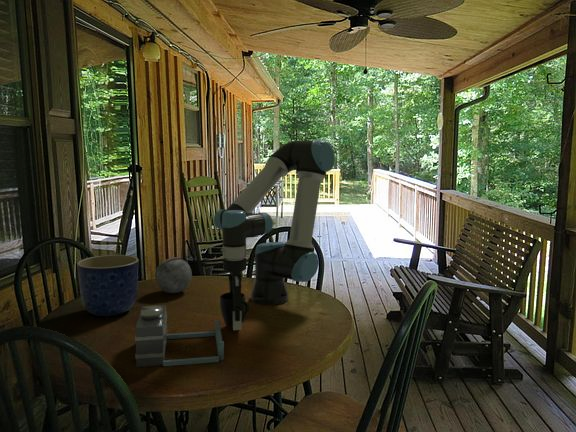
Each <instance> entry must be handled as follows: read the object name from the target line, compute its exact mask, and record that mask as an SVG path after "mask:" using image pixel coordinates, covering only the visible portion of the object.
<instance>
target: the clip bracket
mask: <svg viewBox="0 0 576 432" xmlns="http://www.w3.org/2000/svg"><path fill="white" fill-rule="evenodd" d="M214 323H215V324H214V326H215V327H214V328H215V330H212V331H197V332H196V331H195V332H183V333H182V332H181V333H167V340H174V339H175V340H177V339H188V338H202V337H203V338H207V337H215V343H216V351H217V356H216V355H215V356H204V357H203V356H202V357H192V358H179V359H176V358H175V359H167V360H165V359H164V360H163V365H162V366H163V367H171V366H183V365H184V366H185V365H194V364H195V365H196V364H197V365H198V364H207V363H208V364H209V363H210V364H211V363H219V362H220V361H223V360H225V341H224V340H223V336H222V331H221V321H220V320H215V322H214Z"/></svg>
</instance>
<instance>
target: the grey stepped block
mask: <svg viewBox="0 0 576 432" xmlns="http://www.w3.org/2000/svg"><path fill="white" fill-rule="evenodd" d="M167 319H168V312H167V305H166V304H161V305H158V304H157V305H144V306H143V305H142V307H141V309H140V313H139V317H138V319H137V322H136V325H135V330H134V331H135V335H134V341H135V355H134V357H135V358H134V359H135V360H136V362H135V363H136V368H143V367H154V366H163V360H165V355H166V347H167V341H168V339H167V334H168V326H167Z"/></svg>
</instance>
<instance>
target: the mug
mask: <svg viewBox="0 0 576 432" xmlns="http://www.w3.org/2000/svg"><path fill="white" fill-rule="evenodd" d="M219 299H220V302H219V303H220V304H219V305H220V312H221V316H222V319H223V321H224V325H225V326H227V327H233V311H231V309H233V295H232V294H230V292H229V291H228V292H226V293H225V292H224V293H222V294H221V295H220V296H219ZM241 299H242V311H241V316H242V324H243V323H245V322H244V321H246V318H247V315H248V313H249V311H250V303H249V302H248V301H246V295H245V294H244V293H243V292H241Z"/></svg>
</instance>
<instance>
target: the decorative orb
mask: <svg viewBox="0 0 576 432" xmlns="http://www.w3.org/2000/svg"><path fill="white" fill-rule="evenodd" d="M192 276H193V273H192V268H191V266H190V265H189V263H188V262H187V261H185V260H184V259H183V258H181V257H170V258H167V259H165V260H163V261H162V262H161V263H160V264H159V265H158V266H157V268H156V269H155V272H154V279H155V283H156V285H157V286H158V288H159V289H160V290H162V291H163V292H165V293H168V294H178V293H180V292H183V291H185V290H186V289H187V287H189V286H190V283H191V281H192V278H193V277H192Z"/></svg>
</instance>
